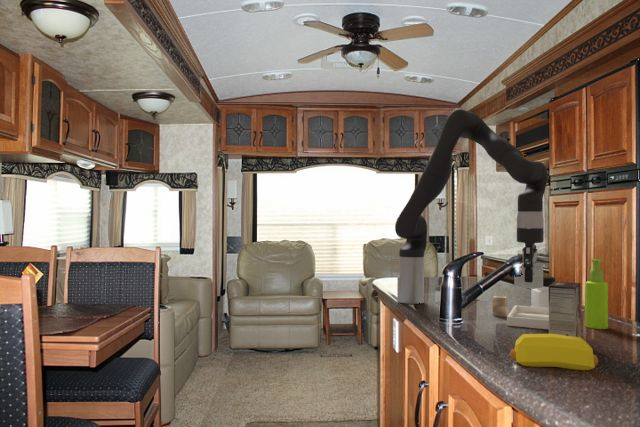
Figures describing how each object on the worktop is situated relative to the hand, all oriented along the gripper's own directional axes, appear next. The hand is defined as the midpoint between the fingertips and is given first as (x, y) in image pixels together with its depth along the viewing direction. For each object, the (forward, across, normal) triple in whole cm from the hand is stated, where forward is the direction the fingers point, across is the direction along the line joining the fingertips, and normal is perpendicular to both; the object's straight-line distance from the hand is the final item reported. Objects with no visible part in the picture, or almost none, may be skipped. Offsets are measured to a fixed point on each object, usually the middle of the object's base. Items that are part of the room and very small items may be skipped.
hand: (529, 280), depth 153 cm
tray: (+13, -6, 0) cm, 15 cm away
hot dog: (+14, +43, +8) cm, 46 cm away
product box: (+2, 0, 0) cm, 2 cm away
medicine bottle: (+13, -26, +3) cm, 29 cm away
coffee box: (+13, +27, +10) cm, 32 cm away
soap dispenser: (+13, -6, +18) cm, 23 cm away
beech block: (+13, -11, -10) cm, 20 cm away
